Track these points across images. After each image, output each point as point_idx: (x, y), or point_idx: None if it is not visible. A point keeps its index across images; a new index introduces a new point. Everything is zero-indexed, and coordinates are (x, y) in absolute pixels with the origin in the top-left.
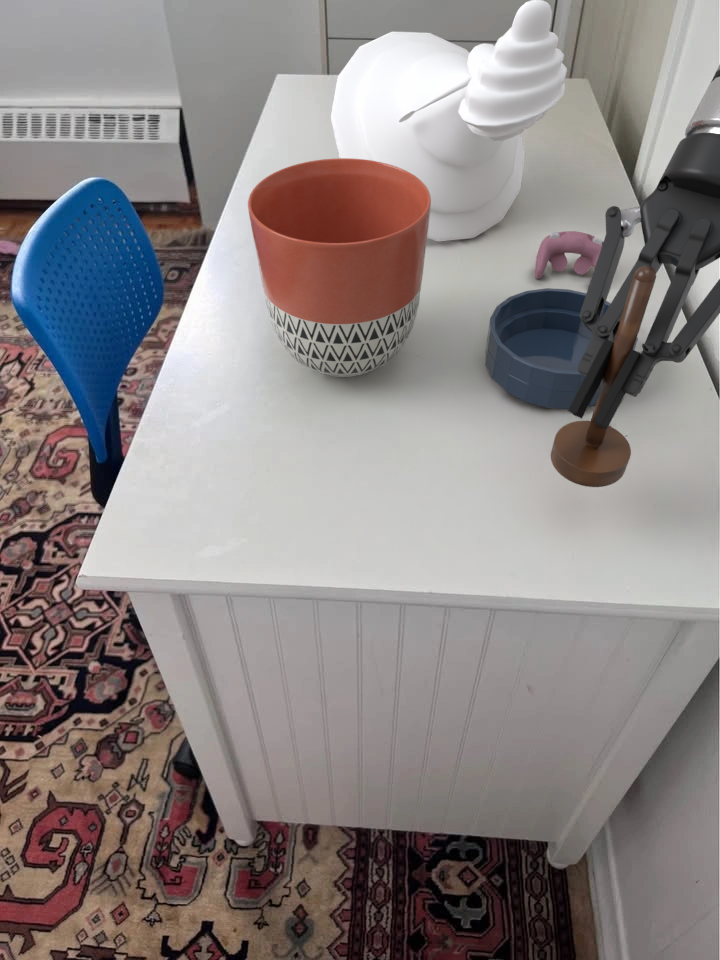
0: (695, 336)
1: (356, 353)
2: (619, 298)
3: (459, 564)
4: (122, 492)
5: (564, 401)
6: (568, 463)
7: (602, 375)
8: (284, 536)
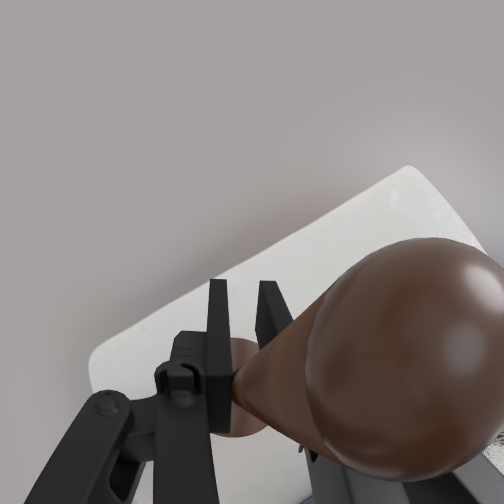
0: (61, 440)
1: None
2: None
3: (276, 272)
4: (447, 203)
5: (313, 501)
6: (243, 339)
7: None
8: (381, 223)
